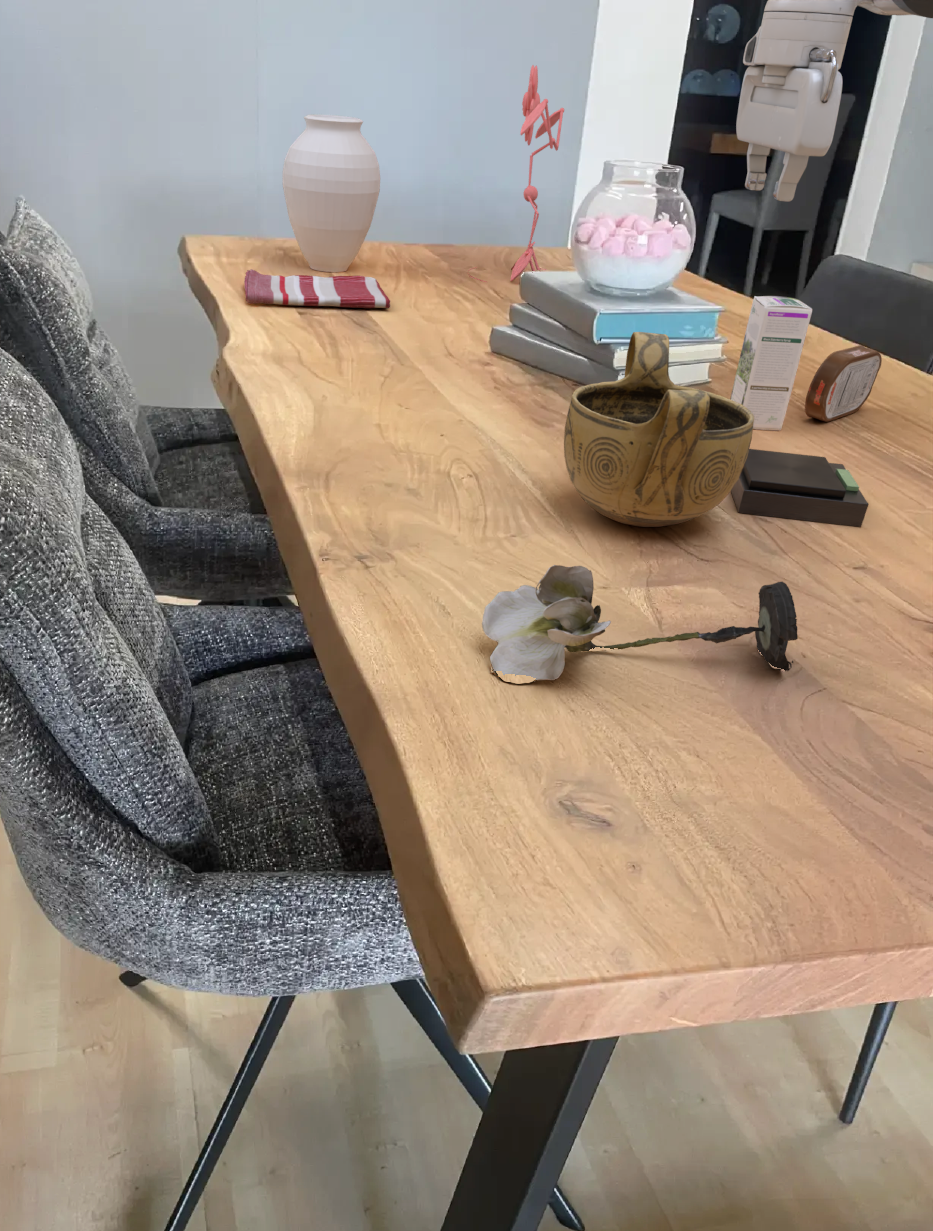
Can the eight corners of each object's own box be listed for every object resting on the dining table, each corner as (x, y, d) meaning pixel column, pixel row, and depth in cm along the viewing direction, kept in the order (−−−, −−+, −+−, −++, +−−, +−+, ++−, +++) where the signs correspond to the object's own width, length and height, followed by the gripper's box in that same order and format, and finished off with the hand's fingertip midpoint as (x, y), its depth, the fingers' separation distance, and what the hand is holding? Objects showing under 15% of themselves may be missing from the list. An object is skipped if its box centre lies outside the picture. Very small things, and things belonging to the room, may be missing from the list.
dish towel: (243, 284, 182) (243, 267, 181) (377, 290, 186) (378, 274, 184) (245, 306, 168) (245, 288, 167) (390, 311, 172) (391, 294, 170)
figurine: (546, 269, 215) (575, 67, 195) (540, 293, 193) (571, 68, 174) (472, 261, 216) (493, 60, 197) (457, 284, 195) (479, 61, 176)
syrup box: (782, 431, 130) (817, 307, 122) (735, 427, 130) (766, 303, 122) (769, 417, 135) (801, 297, 127) (723, 414, 134) (752, 293, 126)
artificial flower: (798, 712, 76) (835, 610, 68) (485, 722, 77) (487, 622, 69) (769, 626, 82) (800, 523, 74) (479, 637, 83) (480, 536, 75)
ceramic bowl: (543, 469, 112) (566, 322, 104) (702, 482, 112) (737, 336, 104) (563, 555, 93) (592, 383, 85) (754, 570, 93) (801, 400, 85)
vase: (280, 257, 206) (282, 109, 192) (370, 261, 208) (378, 116, 195) (282, 274, 191) (284, 116, 178) (379, 279, 194) (388, 123, 180)
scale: (836, 485, 114) (845, 456, 112) (861, 527, 104) (871, 496, 102) (723, 472, 115) (731, 444, 113) (738, 512, 105) (746, 482, 103)
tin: (848, 403, 143) (868, 339, 138) (871, 409, 141) (891, 344, 136) (796, 422, 134) (815, 354, 129) (819, 429, 132) (839, 360, 127)
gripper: (871, 50, 102) (831, 209, 109) (795, 48, 119) (764, 185, 126) (807, 46, 101) (771, 205, 109) (740, 45, 118) (713, 182, 126)
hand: (767, 194), depth 118 cm, fingers open, 8 cm apart
